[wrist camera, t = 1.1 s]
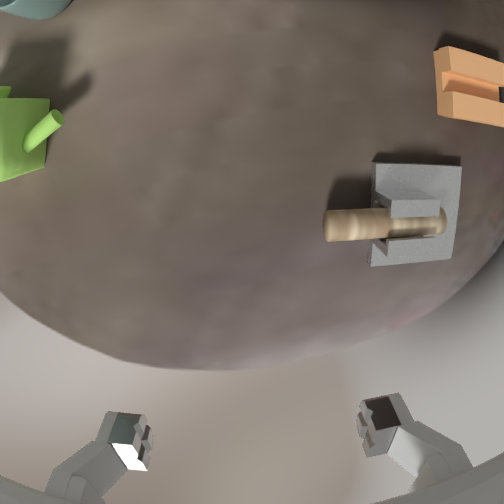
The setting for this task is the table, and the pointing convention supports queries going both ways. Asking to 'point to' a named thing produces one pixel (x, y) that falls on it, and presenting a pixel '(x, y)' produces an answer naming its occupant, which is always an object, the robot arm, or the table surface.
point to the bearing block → (414, 209)
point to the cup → (34, 8)
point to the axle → (378, 224)
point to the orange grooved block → (469, 86)
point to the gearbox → (24, 133)
